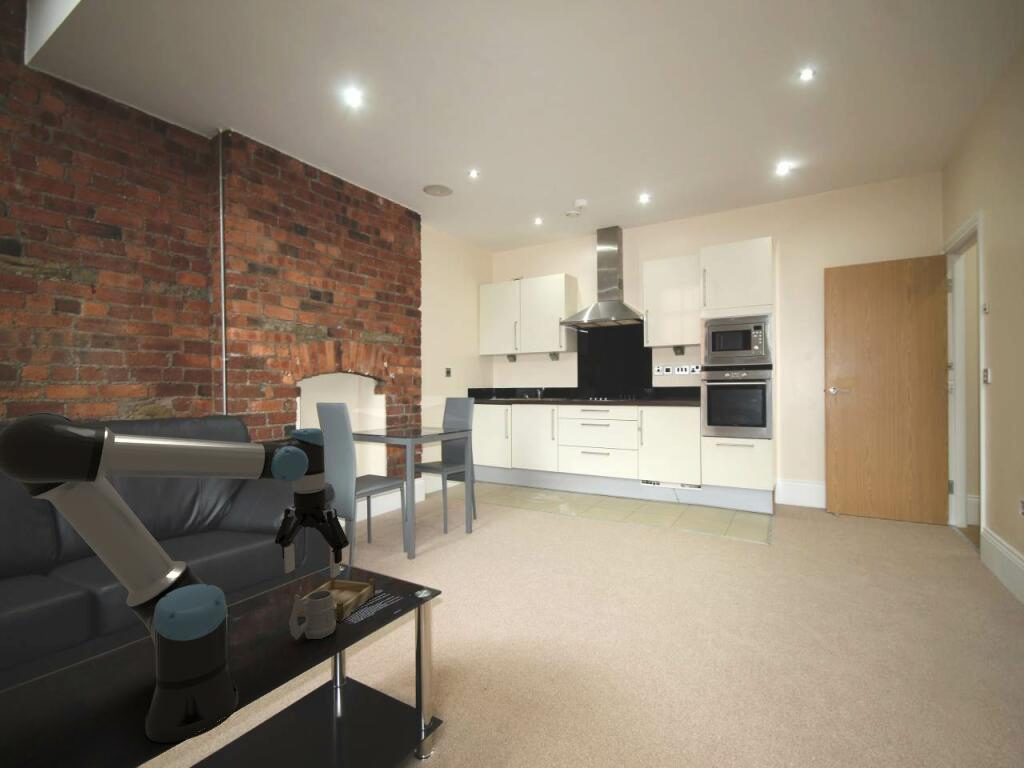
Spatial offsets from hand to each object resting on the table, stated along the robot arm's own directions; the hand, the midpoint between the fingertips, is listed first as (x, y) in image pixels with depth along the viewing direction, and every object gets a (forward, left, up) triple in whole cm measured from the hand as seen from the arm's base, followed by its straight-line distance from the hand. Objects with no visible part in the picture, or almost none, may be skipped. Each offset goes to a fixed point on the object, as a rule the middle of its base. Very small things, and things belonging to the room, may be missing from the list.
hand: (312, 573), depth 125 cm
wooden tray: (+16, +5, -16) cm, 23 cm away
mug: (0, 0, -16) cm, 16 cm away
